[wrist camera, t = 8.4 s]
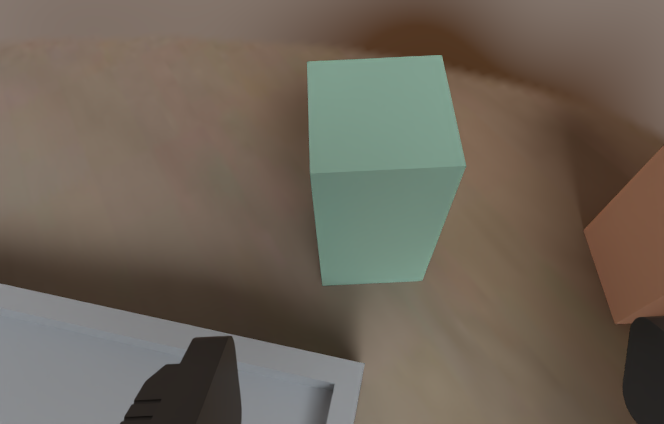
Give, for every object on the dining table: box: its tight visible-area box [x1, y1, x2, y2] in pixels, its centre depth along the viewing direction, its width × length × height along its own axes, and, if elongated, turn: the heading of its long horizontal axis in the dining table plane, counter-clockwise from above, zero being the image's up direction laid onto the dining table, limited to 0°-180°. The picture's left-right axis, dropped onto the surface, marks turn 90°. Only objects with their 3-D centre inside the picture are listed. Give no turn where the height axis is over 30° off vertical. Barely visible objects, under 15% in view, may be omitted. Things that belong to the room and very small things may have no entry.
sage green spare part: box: [307, 55, 466, 286], centre depth 21 cm, size 5×5×10 cm
